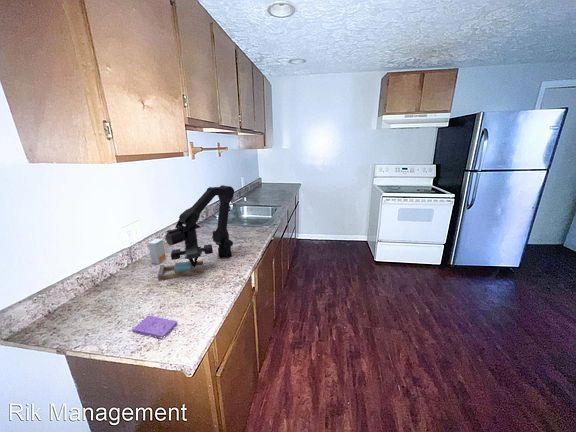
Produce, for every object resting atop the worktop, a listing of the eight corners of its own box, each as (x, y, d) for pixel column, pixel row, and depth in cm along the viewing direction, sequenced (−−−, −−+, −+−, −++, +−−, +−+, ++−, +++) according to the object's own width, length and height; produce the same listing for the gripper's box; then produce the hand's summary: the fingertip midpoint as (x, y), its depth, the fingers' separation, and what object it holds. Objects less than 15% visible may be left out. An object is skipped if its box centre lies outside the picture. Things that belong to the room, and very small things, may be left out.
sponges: (163, 340, 75) (162, 336, 75) (132, 333, 78) (131, 328, 78) (178, 324, 82) (177, 320, 81) (148, 318, 85) (148, 314, 84)
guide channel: (203, 263, 122) (202, 258, 121) (204, 272, 114) (203, 266, 113) (161, 270, 115) (160, 265, 115) (158, 280, 107) (157, 275, 106)
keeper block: (191, 267, 118) (190, 260, 117) (190, 272, 113) (189, 265, 112) (176, 270, 116) (175, 263, 115) (175, 275, 111) (174, 267, 110)
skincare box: (158, 264, 122) (154, 243, 118) (151, 263, 122) (147, 242, 119) (166, 259, 127) (163, 239, 124) (160, 258, 128) (156, 238, 124)
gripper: (167, 248, 101) (173, 279, 106) (212, 241, 108) (215, 271, 112) (169, 238, 111) (174, 267, 116) (210, 233, 118) (213, 260, 122)
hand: (194, 267), depth 116 cm, fingers closed
